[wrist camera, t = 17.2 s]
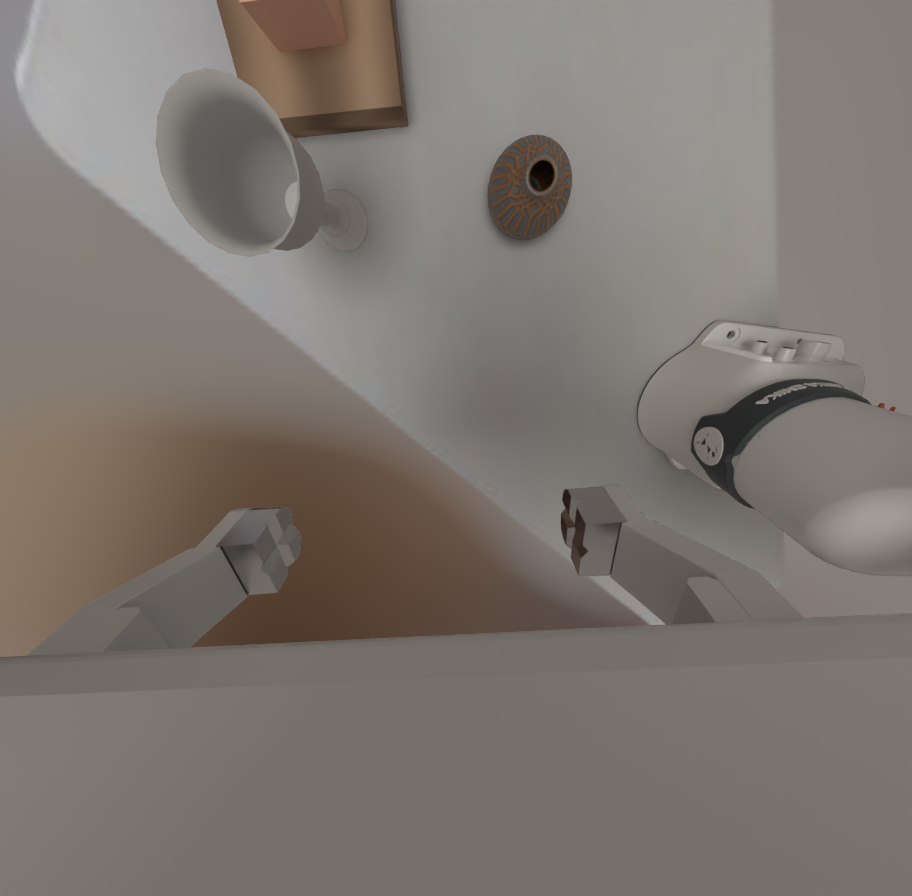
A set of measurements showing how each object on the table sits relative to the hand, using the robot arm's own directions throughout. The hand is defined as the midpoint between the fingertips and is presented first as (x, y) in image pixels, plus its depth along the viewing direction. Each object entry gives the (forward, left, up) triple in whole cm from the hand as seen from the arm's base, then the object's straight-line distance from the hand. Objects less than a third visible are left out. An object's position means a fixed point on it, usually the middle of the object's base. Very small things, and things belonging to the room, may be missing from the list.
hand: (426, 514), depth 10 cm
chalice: (+9, -12, -31) cm, 35 cm away
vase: (-8, -12, -31) cm, 35 cm away
